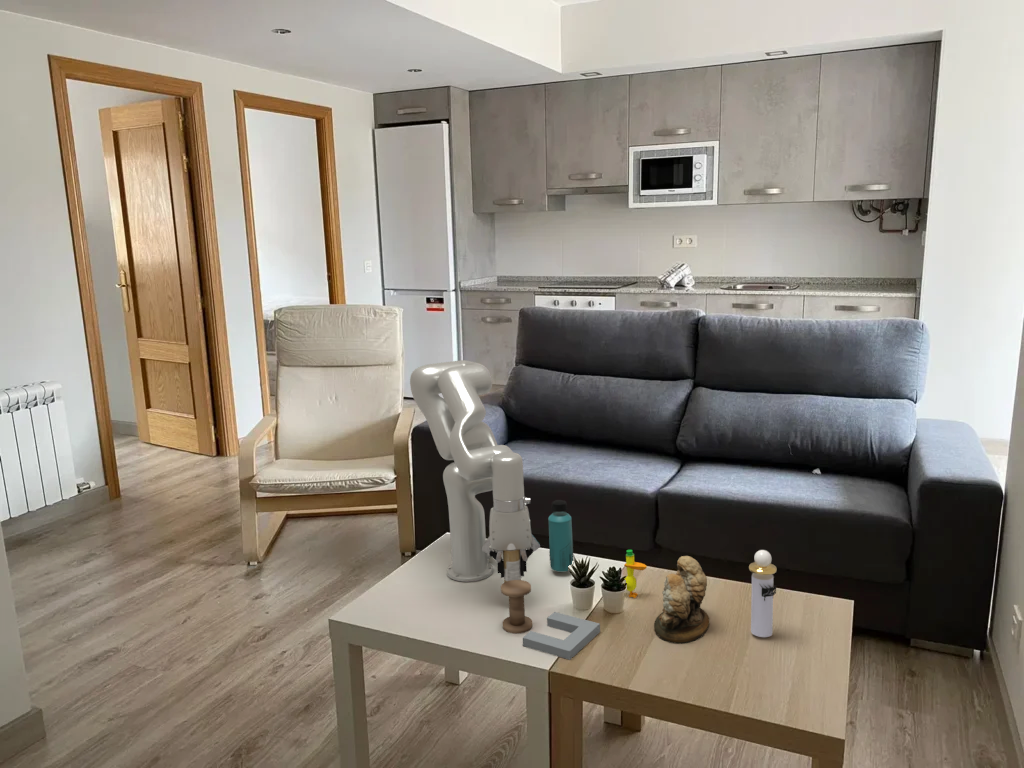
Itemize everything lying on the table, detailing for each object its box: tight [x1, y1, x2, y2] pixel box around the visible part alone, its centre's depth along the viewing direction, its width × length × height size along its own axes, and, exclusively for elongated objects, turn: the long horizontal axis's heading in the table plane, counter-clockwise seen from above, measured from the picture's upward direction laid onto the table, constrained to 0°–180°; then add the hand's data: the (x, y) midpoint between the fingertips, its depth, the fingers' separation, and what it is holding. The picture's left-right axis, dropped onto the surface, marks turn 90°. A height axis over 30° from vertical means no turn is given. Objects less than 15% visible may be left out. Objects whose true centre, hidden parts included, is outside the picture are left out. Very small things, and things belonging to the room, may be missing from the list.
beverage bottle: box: [547, 499, 575, 573], centre depth 211 cm, size 6×7×20 cm
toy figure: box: [623, 549, 648, 599], centre depth 196 cm, size 7×4×12 cm, turn 63°
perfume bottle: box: [748, 549, 777, 638], centre depth 174 cm, size 6×6×20 cm
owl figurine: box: [653, 555, 710, 645], centre depth 180 cm, size 18×12×17 cm, turn 153°
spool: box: [500, 579, 534, 635], centre depth 184 cm, size 7×7×10 cm
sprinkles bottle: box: [502, 544, 522, 583], centre depth 193 cm, size 5×5×14 cm
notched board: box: [522, 611, 601, 661], centre depth 178 cm, size 14×12×2 cm
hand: (512, 574), depth 193 cm, fingers closed on sprinkles bottle, 4 cm apart
